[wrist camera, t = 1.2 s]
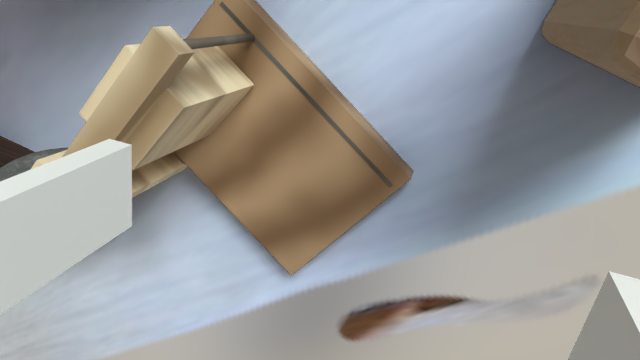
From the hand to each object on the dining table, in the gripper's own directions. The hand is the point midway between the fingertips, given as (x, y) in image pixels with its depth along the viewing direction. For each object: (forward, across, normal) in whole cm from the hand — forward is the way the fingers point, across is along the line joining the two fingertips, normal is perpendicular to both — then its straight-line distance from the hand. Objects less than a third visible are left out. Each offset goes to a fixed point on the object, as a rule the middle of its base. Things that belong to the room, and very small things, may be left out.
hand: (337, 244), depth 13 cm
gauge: (+25, -17, -4) cm, 31 cm away
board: (+25, -11, -7) cm, 28 cm away
